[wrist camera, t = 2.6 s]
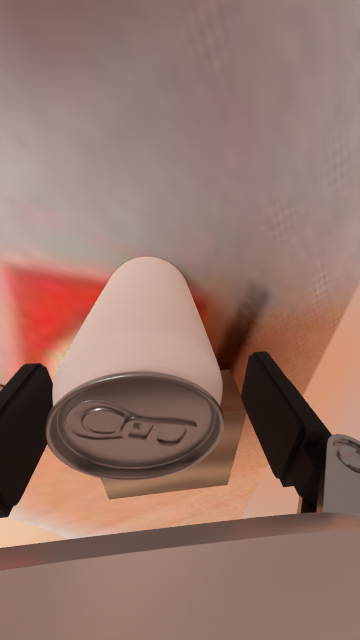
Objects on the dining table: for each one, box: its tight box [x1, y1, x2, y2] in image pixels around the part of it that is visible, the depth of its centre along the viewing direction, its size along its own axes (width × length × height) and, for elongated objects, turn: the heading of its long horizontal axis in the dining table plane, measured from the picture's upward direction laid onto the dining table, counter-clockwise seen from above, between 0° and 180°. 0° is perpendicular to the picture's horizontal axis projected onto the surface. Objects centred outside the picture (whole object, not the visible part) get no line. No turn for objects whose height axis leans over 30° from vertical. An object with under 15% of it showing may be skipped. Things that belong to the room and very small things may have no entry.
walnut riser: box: [101, 370, 246, 499], centre depth 23 cm, size 14×14×5 cm
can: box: [45, 257, 224, 481], centre depth 12 cm, size 6×6×12 cm
